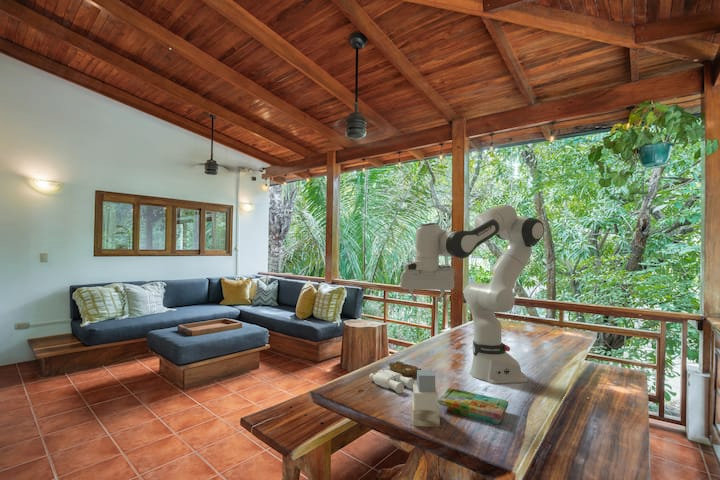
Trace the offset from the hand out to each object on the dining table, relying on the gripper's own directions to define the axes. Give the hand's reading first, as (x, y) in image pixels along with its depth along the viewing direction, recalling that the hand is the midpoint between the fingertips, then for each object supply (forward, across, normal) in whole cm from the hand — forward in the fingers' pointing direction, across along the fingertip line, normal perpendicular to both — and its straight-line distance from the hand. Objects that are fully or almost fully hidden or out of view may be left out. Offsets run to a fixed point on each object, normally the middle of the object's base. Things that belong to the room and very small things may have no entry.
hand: (426, 301), depth 132 cm
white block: (+29, +4, +23) cm, 37 cm away
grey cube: (+24, +3, +22) cm, 33 cm away
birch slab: (+34, +3, +22) cm, 41 cm away
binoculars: (+34, +14, -4) cm, 37 cm away
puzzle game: (+34, -13, +15) cm, 40 cm away
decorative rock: (+34, +8, -18) cm, 40 cm away
